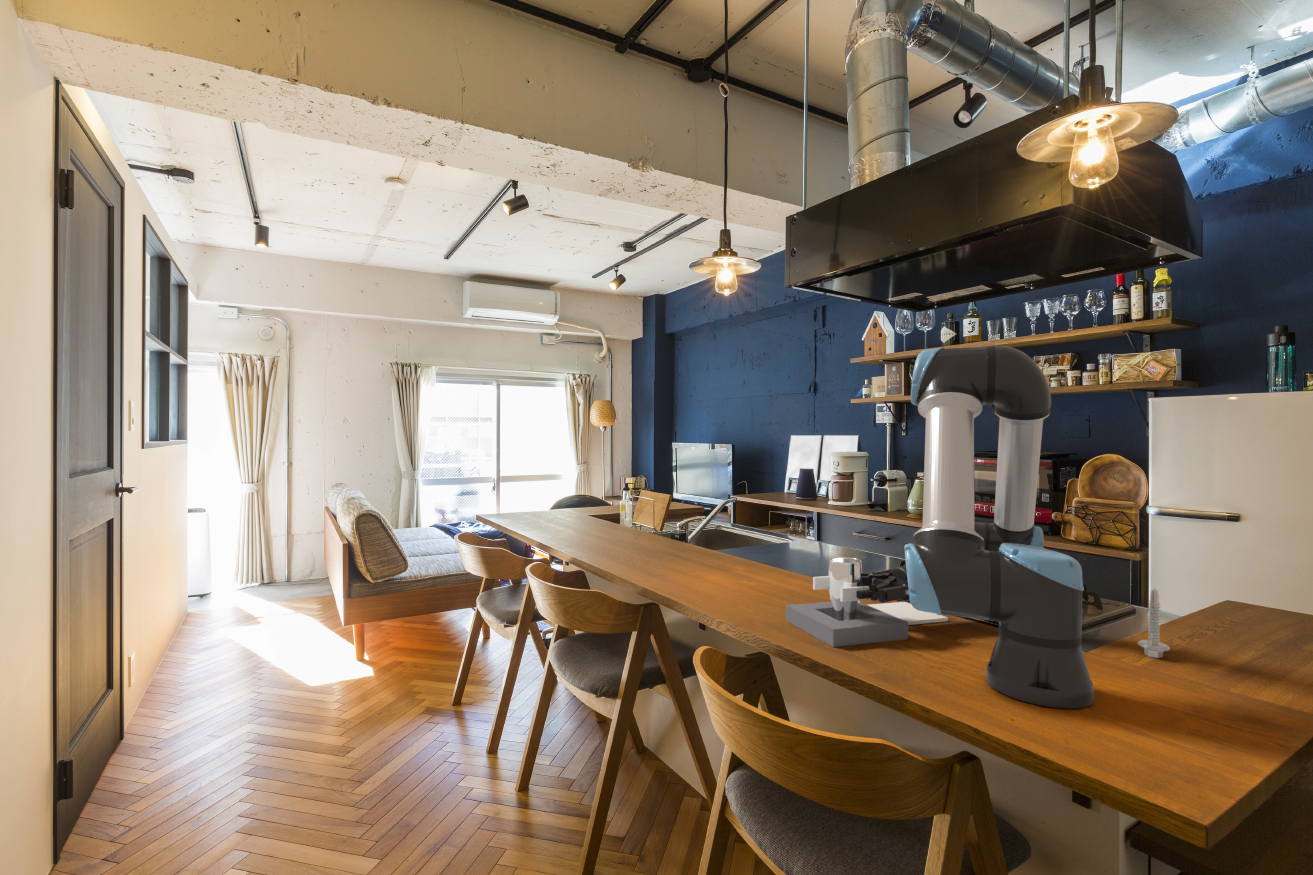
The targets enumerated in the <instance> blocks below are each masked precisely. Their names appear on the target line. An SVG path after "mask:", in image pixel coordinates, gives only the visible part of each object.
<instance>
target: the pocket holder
mask: <svg viewBox="0 0 1313 875" xmlns="http://www.w3.org/2000/svg"><path fill="white" fill-rule="evenodd" d="M868 605H869V604H865V603H863V602H861V601H859V606H858V614H857V617H858V619H855V620H844V621H838V620H836V619H834V618H832V606H831V601H821V602H808V603H797V604H796V603H795V604H786V605H785V621H786V622H787V623H789V624H791V625H793V626H795V627H796V628H798V629H800V630H802V631H803V632H806V633H807V634H809V635H810V636H813V637H814V638H816V639H818V640H820V641H822V642H823V643H824V644H827V645H829V646H830V647H831V648H836V647H848V646H854V645H856V646H858V645H866V644H876V643H885V642H894V641H903V640H909V625H908V622H907V621H904V620H902V619H899V618H897V617H895V616H892V615H890V614H887V613H885V612H882V611H880V610H878V609H875V608H873V607H870V606H868Z"/></svg>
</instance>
